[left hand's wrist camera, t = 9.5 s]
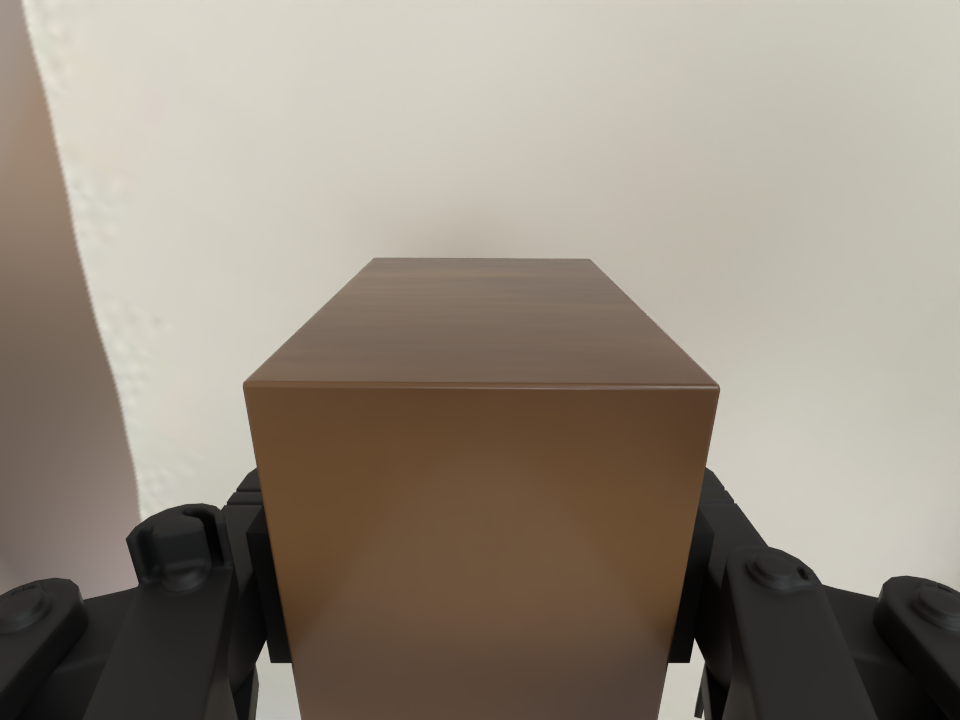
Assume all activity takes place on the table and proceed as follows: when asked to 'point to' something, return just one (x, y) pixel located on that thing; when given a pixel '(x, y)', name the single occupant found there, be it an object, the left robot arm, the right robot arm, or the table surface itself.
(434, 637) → the beam
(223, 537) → the left robot arm
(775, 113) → the table surface
